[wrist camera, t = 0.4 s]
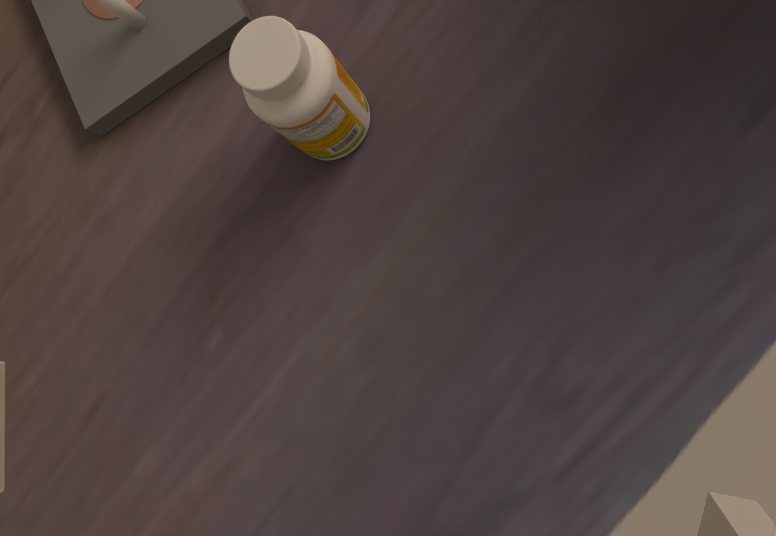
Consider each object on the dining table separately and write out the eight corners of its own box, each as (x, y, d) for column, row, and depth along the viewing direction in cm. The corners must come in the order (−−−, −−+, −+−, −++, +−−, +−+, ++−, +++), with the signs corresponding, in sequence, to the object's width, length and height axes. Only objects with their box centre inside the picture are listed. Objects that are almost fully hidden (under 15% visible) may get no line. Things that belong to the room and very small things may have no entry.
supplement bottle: (303, 79, 41) (227, -1, 32) (379, 85, 40) (322, 3, 31) (286, 157, 41) (205, 99, 32) (363, 166, 39) (300, 108, 30)
